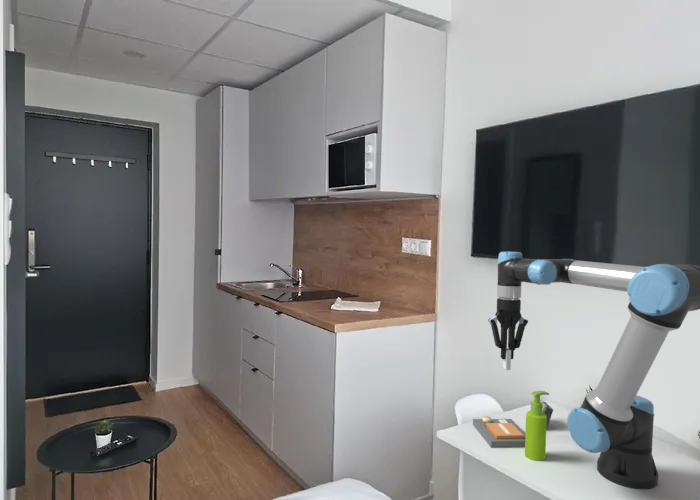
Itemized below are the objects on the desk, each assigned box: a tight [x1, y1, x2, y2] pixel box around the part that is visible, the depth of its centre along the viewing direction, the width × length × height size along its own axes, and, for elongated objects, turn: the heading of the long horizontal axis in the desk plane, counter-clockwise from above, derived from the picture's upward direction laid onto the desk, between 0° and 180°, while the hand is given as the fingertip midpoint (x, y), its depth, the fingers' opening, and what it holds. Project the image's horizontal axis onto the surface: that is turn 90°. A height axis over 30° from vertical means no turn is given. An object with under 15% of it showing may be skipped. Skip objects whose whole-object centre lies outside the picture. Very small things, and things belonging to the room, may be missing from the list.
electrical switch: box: [540, 399, 554, 431], centre depth 170 cm, size 9×5×9 cm, turn 178°
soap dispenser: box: [524, 390, 550, 462], centre depth 146 cm, size 6×7×20 cm
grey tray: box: [472, 416, 526, 449], centre depth 161 cm, size 18×14×4 cm
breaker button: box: [486, 423, 524, 439], centre depth 159 cm, size 10×9×3 cm
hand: (506, 368), depth 158 cm, fingers closed
